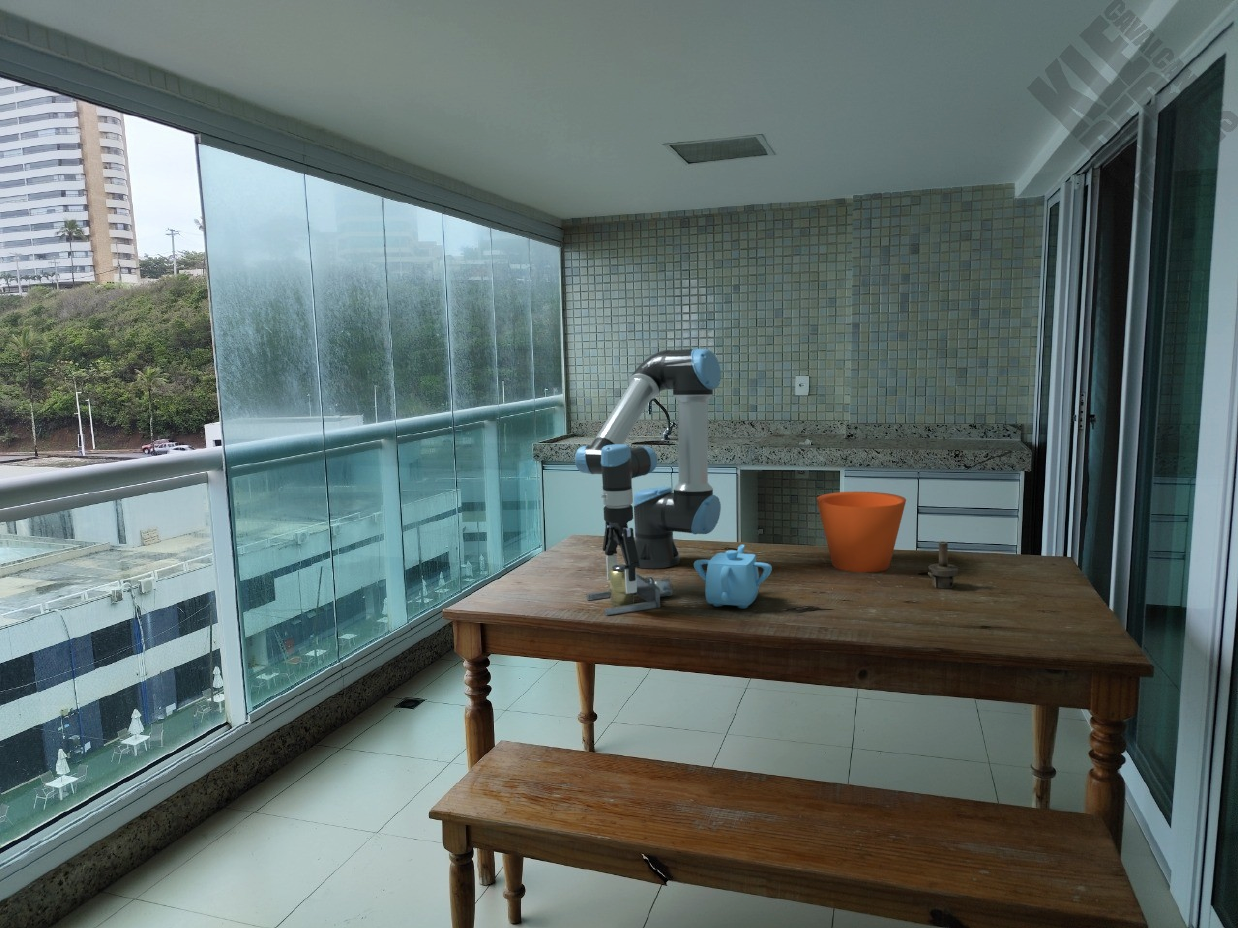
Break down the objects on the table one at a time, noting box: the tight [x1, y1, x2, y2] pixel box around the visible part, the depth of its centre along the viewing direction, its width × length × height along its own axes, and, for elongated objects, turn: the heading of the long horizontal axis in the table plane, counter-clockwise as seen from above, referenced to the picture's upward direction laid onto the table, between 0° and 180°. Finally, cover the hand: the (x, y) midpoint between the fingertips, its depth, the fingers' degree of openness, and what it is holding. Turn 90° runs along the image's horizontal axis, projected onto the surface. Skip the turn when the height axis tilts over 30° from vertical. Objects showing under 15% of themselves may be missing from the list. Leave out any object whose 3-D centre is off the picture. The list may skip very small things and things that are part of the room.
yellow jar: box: [609, 564, 635, 607], centre depth 213 cm, size 6×6×10 cm
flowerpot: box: [816, 491, 907, 574], centre depth 241 cm, size 25×25×20 cm
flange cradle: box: [586, 573, 674, 616], centre depth 214 cm, size 21×15×6 cm
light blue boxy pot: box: [693, 544, 773, 609], centre depth 211 cm, size 18×16×14 cm
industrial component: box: [927, 541, 959, 589], centre depth 217 cm, size 9×7×12 cm
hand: (621, 585), depth 213 cm, fingers open, 13 cm apart
